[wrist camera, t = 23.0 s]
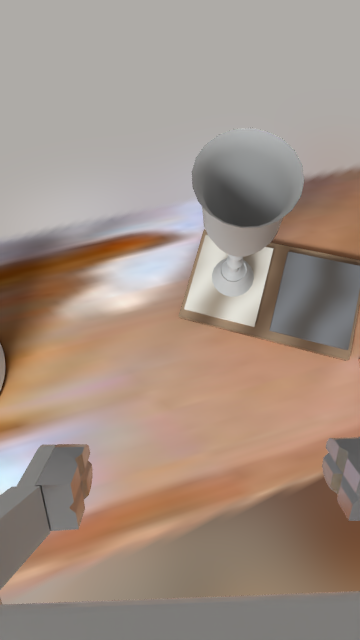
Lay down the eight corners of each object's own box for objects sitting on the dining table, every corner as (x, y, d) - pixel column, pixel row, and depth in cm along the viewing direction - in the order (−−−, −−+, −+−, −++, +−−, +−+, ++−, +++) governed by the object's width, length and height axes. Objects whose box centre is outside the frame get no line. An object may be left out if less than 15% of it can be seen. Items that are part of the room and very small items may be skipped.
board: (179, 318, 37) (178, 315, 36) (204, 233, 39) (203, 226, 38) (345, 360, 34) (351, 359, 32) (363, 265, 36) (369, 259, 34)
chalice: (194, 265, 37) (172, 159, 19) (242, 239, 37) (264, 110, 19) (222, 315, 35) (226, 248, 18) (273, 288, 35) (327, 194, 18)
